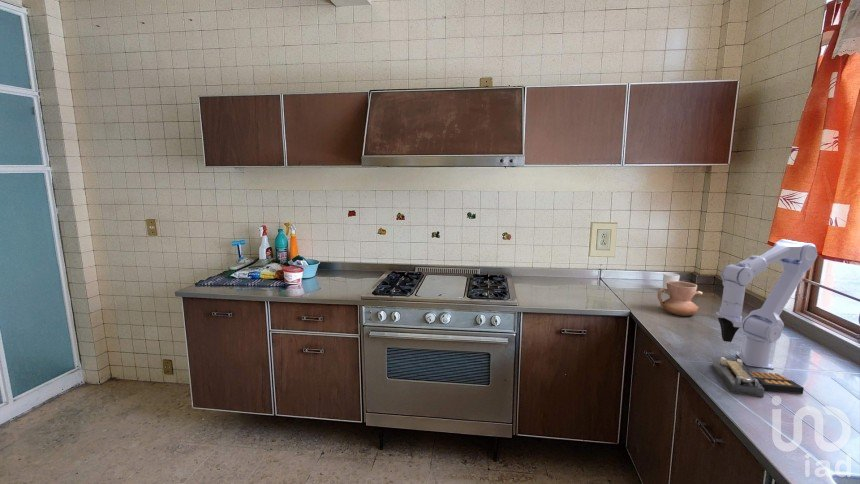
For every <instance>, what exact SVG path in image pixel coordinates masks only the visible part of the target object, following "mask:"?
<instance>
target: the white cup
mask: <svg viewBox="0 0 860 484" xmlns="http://www.w3.org/2000/svg"><path fill="white" fill-rule="evenodd" d="M662 275H663V276H662V288H665V289H667V281H680V278H681V275H680V274H678V273H676V272H663V274H662Z"/></svg>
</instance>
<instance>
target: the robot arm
mask: <svg viewBox="0 0 860 484" xmlns="http://www.w3.org/2000/svg"><path fill="white" fill-rule="evenodd" d="M817 258H818V249H817V247H816V245H815V244H814V243H810V242H809V243H807V242H803V241H802V242H800V241H793V240H788V239H785V238H783V239H780V240H778V241H775V242H774V245H773V247H772V248H770V249H769V250H767V251H765V252H763V254H761V255H753V254H751V255H749V256H748V258H745V259H743V260H742V261H739V262H738V263H736V264H728V265H726V266H724V267H723V269H722V271H721V272H720V277H721V279H722V283H721V284H722V286H723V291H722V296H721V305H720V307H719V311H715V315H716V316H718V317H717V319H718V323H719V325H720V331H721V332H720V333H721V338H722V341H723V342H728V343H732V341H733V339H734V337H735V335H736V333H737V332H738V330H739V329H740V328H741V330H742V332H744V336H743V337H742V340H741V345H740V351H739V352H740V353H739V352H737V353H736V355H737V357H739V359H741V360H742V361H743V363H744V364H745V365H746V366H748V367H757V368H762V369H771V370H774V369H775V367H774V366H773V365H772V364H771V363H770V361H771V360H770V359H771V353H772V348H773V343H776V341H778V340H779V339H780V338H781V337H782V332H783V329H784V326H785V324H784V322H783V320H782V318H781V317H780V315H781V314H782V312H783V310H784V309H785V307H786V305H787V304H788V302H789V300H790V298H792V295H793V294H794V293H795V291H796V289H797V287H798V286H799V284H800V282H801V280H802V279H803V278H804V275H805V274H806V273H807V271H808V272H809V271H810V269H811V268H812V266H813V264H814V262H815V261H816V260H817ZM776 262H779V264H780V265H781V266H782V267H783V272H782V273H781V275H780V276H779V278H778V280H777V281H776V283H775V285H774V286H773V288H772V289H771V291H770V293H769V295H768V296H767V297H766V300H765V301H764V303H763V304H762V306H761V307H760V308H758V309H754V310H751V311H750V313H749V314H748V315H747V316H745V317H744V318H743V316H742V314H743V308H744V299H745V293H746V288H747V287H746V286H747V285H749V284H750V283H751V282H752V280H753V279H754V278H755V277H756V276H757V275H759V274H762V272H765V271H766V270H767V268H768V266H769V265H771V264H774V263H776ZM742 319H743V320H742Z"/></svg>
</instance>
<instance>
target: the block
mask: <svg viewBox="0 0 860 484" xmlns="http://www.w3.org/2000/svg"><path fill="white" fill-rule="evenodd" d="M720 359H721V358H716V357H713V358H712V361H711V362H712V364H711V366H712V367H713V368H714V370H715V371H716V372H717V374H718V376H719V377H720V378H721V380H722V381H723V383H725V385H726V386H727V388H728V389H729V391H730V392H731V393H735V394H741V395H747V396H752V397H753V396H754V397H760V398H764V395H765V391H766V390H765V389H764V388H763V387H762V386H761V384H760V383H759V381H758V380H757V379H755V378H754V376H753V375H752V374H751V371H750V370H749V369H747V367H746V366H745V365H744V364H743V365H742V368H743V370H744V371H745V372H746V373H747V374H748V375H749V376H750V377H751V379H752V380H753V384H750V383H744V382H741V378H740V377H739V376H736V375H735V373H734V372H733V371H732V370H731V369H730V367H729V366H726V365H722V364H721V363H720ZM728 360H729V361H732V360H730V359H728ZM735 361H736V362H737V360H735Z"/></svg>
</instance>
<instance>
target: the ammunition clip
mask: <svg viewBox="0 0 860 484" xmlns="http://www.w3.org/2000/svg"><path fill="white" fill-rule="evenodd" d="M750 373H751V374H752V375H753V376H754V378H755V379H757V380H758V381H759V383H760V384H761V386H762V387H763V388H764V389H765V390H764V391H770V392H771V391H772V392H780V393H781V392H782V393H790V394H802V395H803V394H804V390H805V388H804V387H803V386H802V385H800V384H798V383H796V381H794V380H791V379H789V378H787V377H785V376H783V375H781V374H780V373H778V372H775V373H772V372H765V371H762V372H761V371H754V370H750Z"/></svg>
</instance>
